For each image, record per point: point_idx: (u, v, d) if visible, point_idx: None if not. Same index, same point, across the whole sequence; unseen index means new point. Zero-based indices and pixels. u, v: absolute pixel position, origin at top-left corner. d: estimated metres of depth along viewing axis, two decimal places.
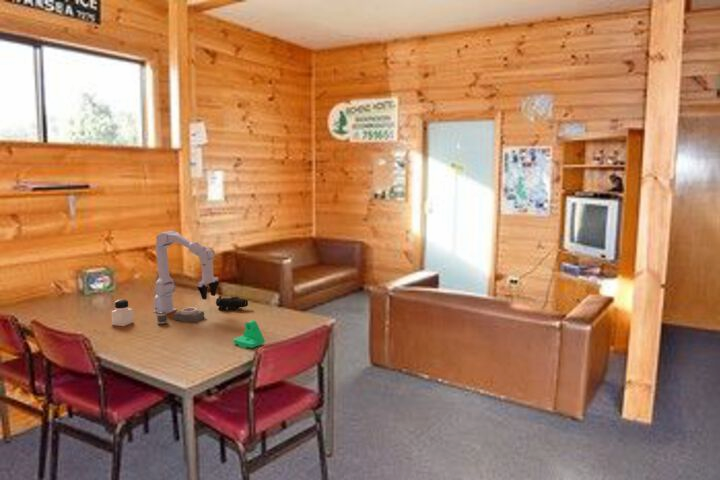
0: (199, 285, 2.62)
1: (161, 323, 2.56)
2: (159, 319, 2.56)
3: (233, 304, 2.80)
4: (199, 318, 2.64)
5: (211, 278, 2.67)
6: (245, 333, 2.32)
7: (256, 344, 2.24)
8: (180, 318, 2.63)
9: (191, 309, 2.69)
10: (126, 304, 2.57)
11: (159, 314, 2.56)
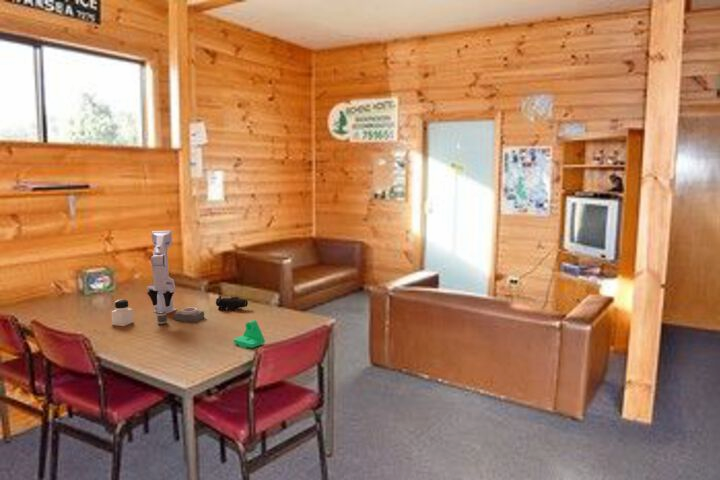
0: None
1: (161, 323, 2.56)
2: (159, 319, 2.56)
3: (233, 304, 2.80)
4: (199, 318, 2.64)
5: (155, 286, 2.53)
6: (245, 333, 2.32)
7: (256, 344, 2.24)
8: (180, 318, 2.63)
9: (191, 309, 2.69)
10: (126, 304, 2.57)
11: (159, 314, 2.56)
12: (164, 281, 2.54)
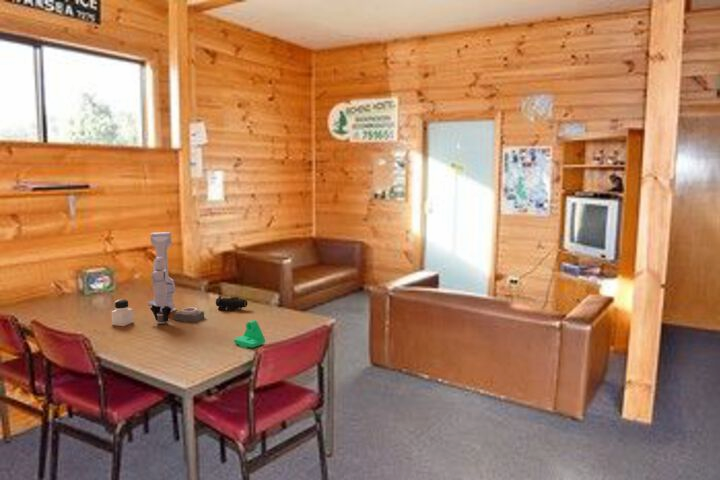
0: None
1: (161, 323, 2.56)
2: (159, 319, 2.56)
3: (233, 304, 2.79)
4: (199, 318, 2.64)
5: (155, 301, 2.54)
6: (246, 333, 2.32)
7: (257, 344, 2.24)
8: (180, 318, 2.63)
9: (191, 309, 2.69)
10: (126, 304, 2.57)
11: (159, 314, 2.56)
12: (165, 297, 2.55)
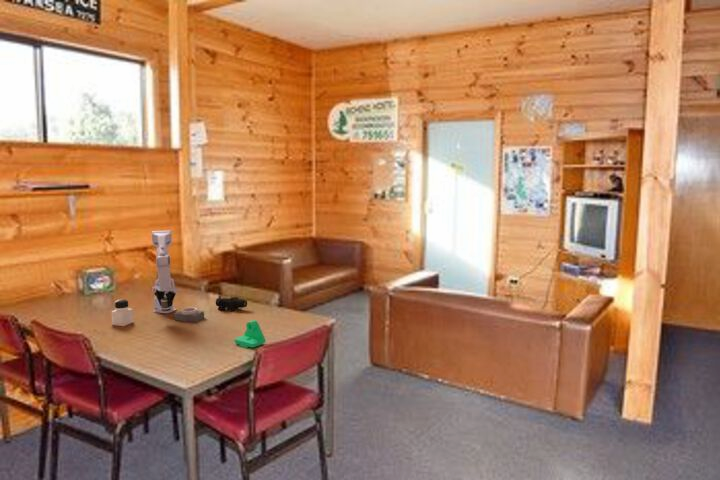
0: None
1: (165, 309, 2.57)
2: (163, 305, 2.56)
3: (233, 304, 2.79)
4: (199, 318, 2.64)
5: (159, 286, 2.55)
6: (246, 333, 2.32)
7: (257, 344, 2.24)
8: (180, 318, 2.63)
9: (191, 309, 2.69)
10: (126, 304, 2.57)
11: (163, 300, 2.56)
12: (169, 282, 2.56)
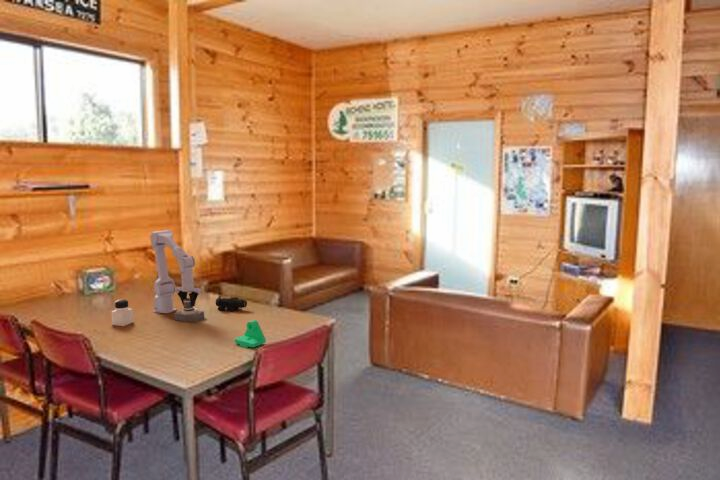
0: None
1: (187, 309, 2.63)
2: (185, 305, 2.63)
3: (232, 304, 2.79)
4: (199, 318, 2.64)
5: (183, 287, 2.61)
6: (246, 333, 2.32)
7: (257, 344, 2.24)
8: (180, 318, 2.63)
9: None
10: (126, 304, 2.57)
11: (185, 301, 2.62)
12: (192, 282, 2.62)
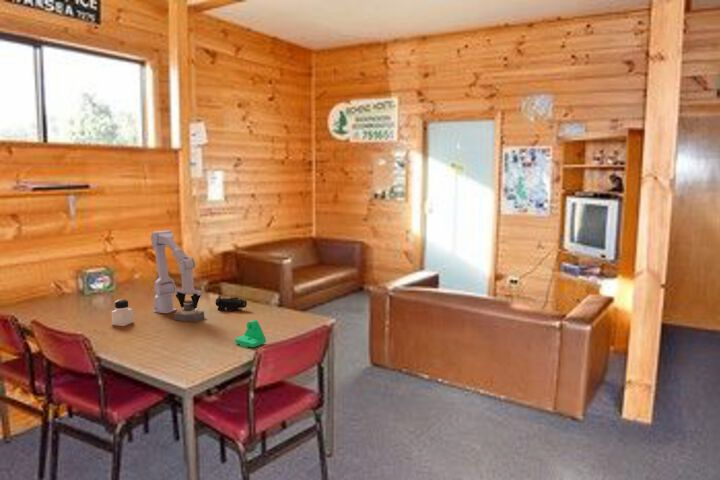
0: None
1: None
2: (185, 308, 2.63)
3: (232, 304, 2.79)
4: (199, 318, 2.64)
5: (183, 289, 2.62)
6: (247, 332, 2.33)
7: (258, 343, 2.25)
8: (180, 318, 2.63)
9: None
10: (126, 304, 2.57)
11: (185, 303, 2.62)
12: (192, 284, 2.62)
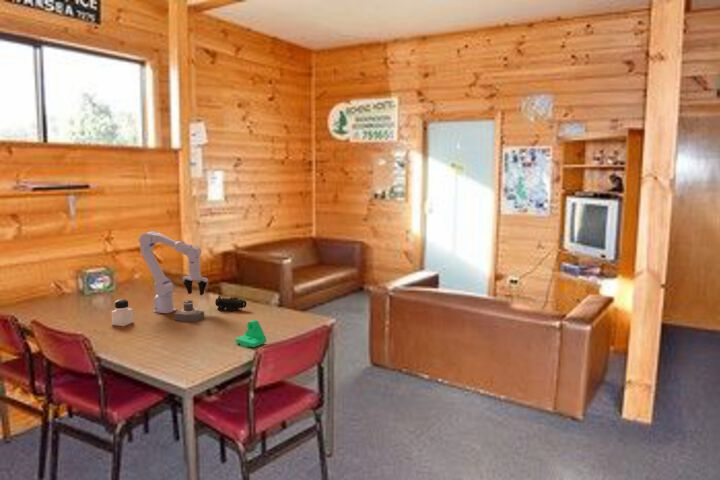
0: None
1: None
2: (185, 308, 2.63)
3: (232, 304, 2.79)
4: (199, 318, 2.64)
5: (190, 276, 2.73)
6: (247, 332, 2.33)
7: (258, 343, 2.25)
8: (180, 318, 2.63)
9: None
10: (126, 304, 2.57)
11: (185, 303, 2.62)
12: (199, 272, 2.74)
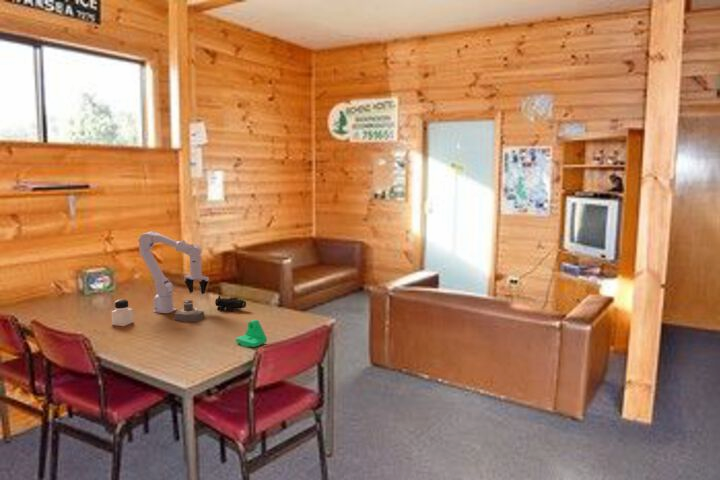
0: None
1: None
2: (185, 308, 2.63)
3: (231, 305, 2.78)
4: (199, 318, 2.64)
5: (192, 275, 2.76)
6: (247, 332, 2.33)
7: (258, 343, 2.25)
8: (180, 318, 2.63)
9: None
10: (126, 304, 2.57)
11: (185, 303, 2.62)
12: (200, 271, 2.77)
